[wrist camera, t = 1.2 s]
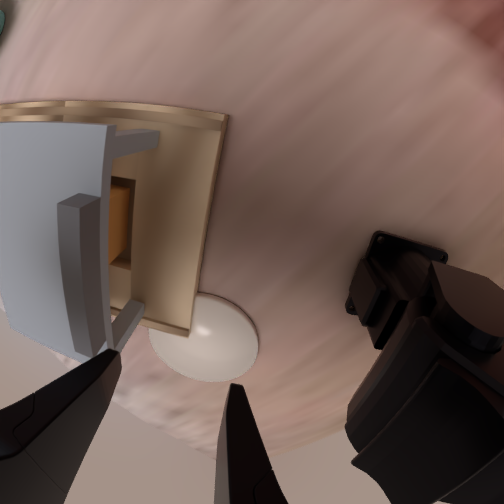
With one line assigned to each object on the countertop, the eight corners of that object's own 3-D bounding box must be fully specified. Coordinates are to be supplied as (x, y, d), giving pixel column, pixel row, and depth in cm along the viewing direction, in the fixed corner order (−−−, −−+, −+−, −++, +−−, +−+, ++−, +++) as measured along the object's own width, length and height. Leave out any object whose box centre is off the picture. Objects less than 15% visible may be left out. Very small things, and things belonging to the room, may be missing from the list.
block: (130, 188, 19) (74, 218, 13) (126, 247, 21) (79, 293, 15) (78, 178, 19) (18, 204, 13) (78, 234, 21) (26, 272, 15)
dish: (270, 308, 22) (270, 314, 21) (246, 384, 26) (245, 390, 25) (153, 279, 22) (149, 285, 21) (151, 360, 26) (148, 366, 25)
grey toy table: (161, 122, 15) (84, 128, 9) (144, 319, 21) (101, 392, 14) (48, 115, 15) (-36, 127, 8) (52, 287, 21) (-2, 340, 14)
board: (228, 115, 17) (223, 113, 15) (192, 326, 23) (187, 341, 22) (-28, 108, 16) (-40, 110, 15) (-21, 251, 23) (-31, 257, 21)
